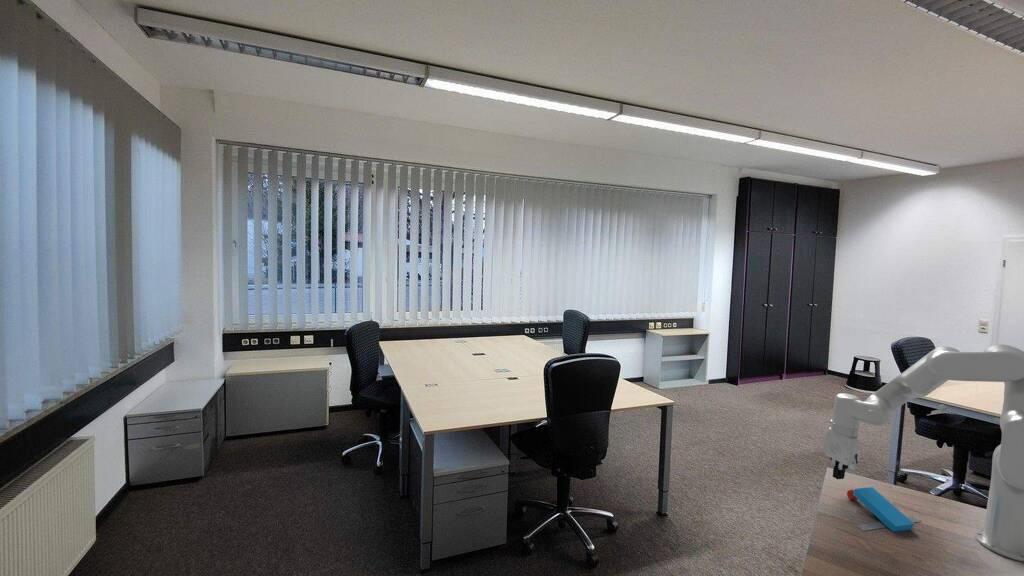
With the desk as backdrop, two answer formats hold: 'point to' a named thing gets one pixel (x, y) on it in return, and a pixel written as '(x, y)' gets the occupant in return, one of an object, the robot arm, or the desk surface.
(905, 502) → the desk surface
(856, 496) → the lever
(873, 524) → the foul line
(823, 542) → the desk surface
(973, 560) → the desk surface
